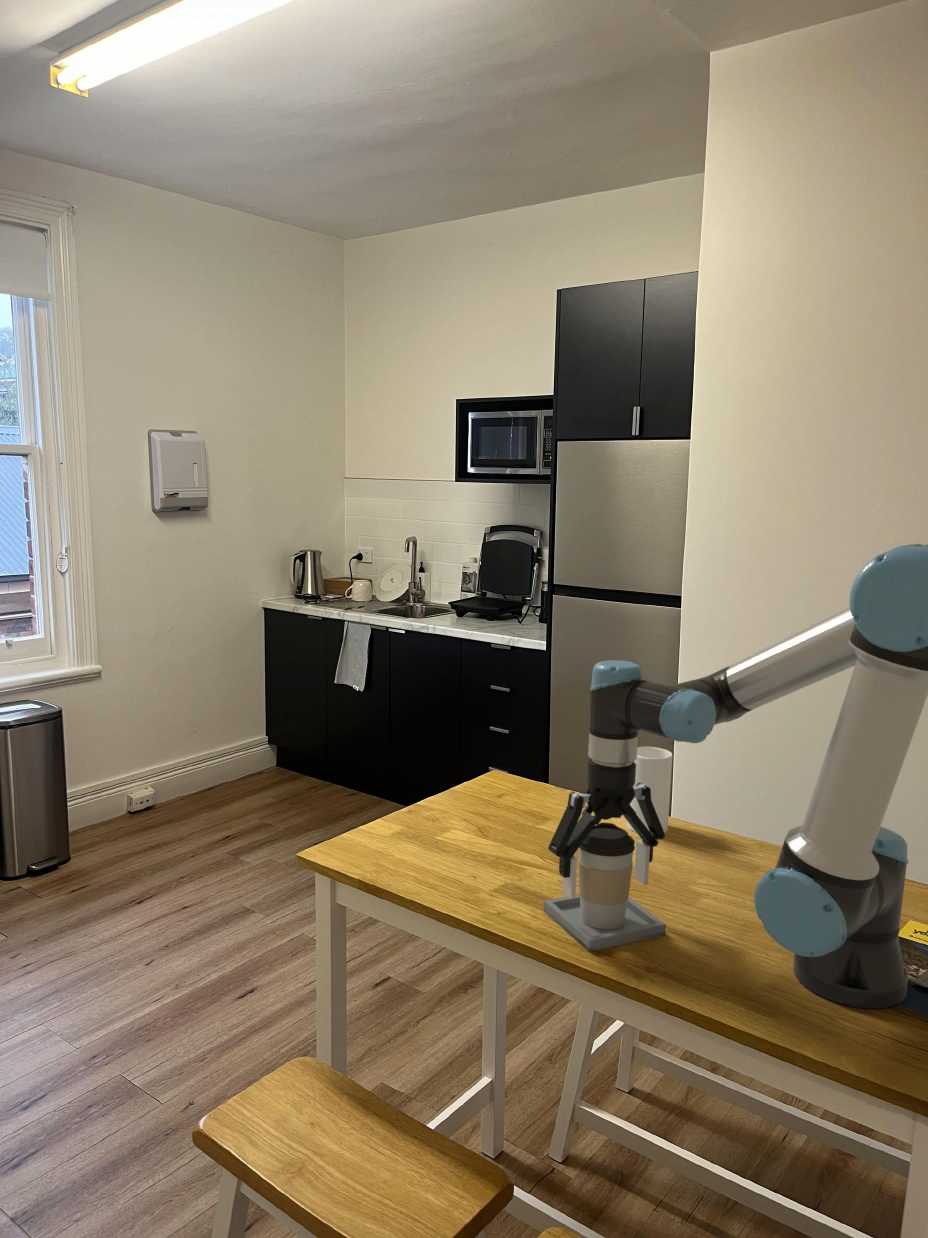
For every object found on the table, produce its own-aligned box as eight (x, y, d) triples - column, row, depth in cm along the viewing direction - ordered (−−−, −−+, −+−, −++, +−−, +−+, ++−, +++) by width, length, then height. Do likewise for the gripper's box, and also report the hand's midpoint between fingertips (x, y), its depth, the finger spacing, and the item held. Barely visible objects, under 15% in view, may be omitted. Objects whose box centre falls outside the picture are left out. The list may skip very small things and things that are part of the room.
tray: (665, 935, 143) (666, 924, 143) (588, 952, 137) (589, 940, 137) (615, 897, 156) (615, 887, 155) (543, 911, 150) (544, 900, 150)
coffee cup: (630, 936, 141) (635, 843, 139) (571, 929, 143) (575, 837, 140) (631, 910, 150) (636, 822, 148) (576, 904, 151) (579, 817, 149)
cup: (671, 836, 183) (676, 759, 181) (630, 834, 183) (634, 758, 181) (663, 820, 191) (667, 747, 189) (623, 819, 191) (628, 746, 189)
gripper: (663, 745, 151) (655, 867, 154) (530, 761, 140) (525, 891, 144) (691, 758, 144) (683, 885, 147) (554, 775, 134) (548, 912, 137)
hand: (605, 888), depth 145 cm, fingers open, 13 cm apart
